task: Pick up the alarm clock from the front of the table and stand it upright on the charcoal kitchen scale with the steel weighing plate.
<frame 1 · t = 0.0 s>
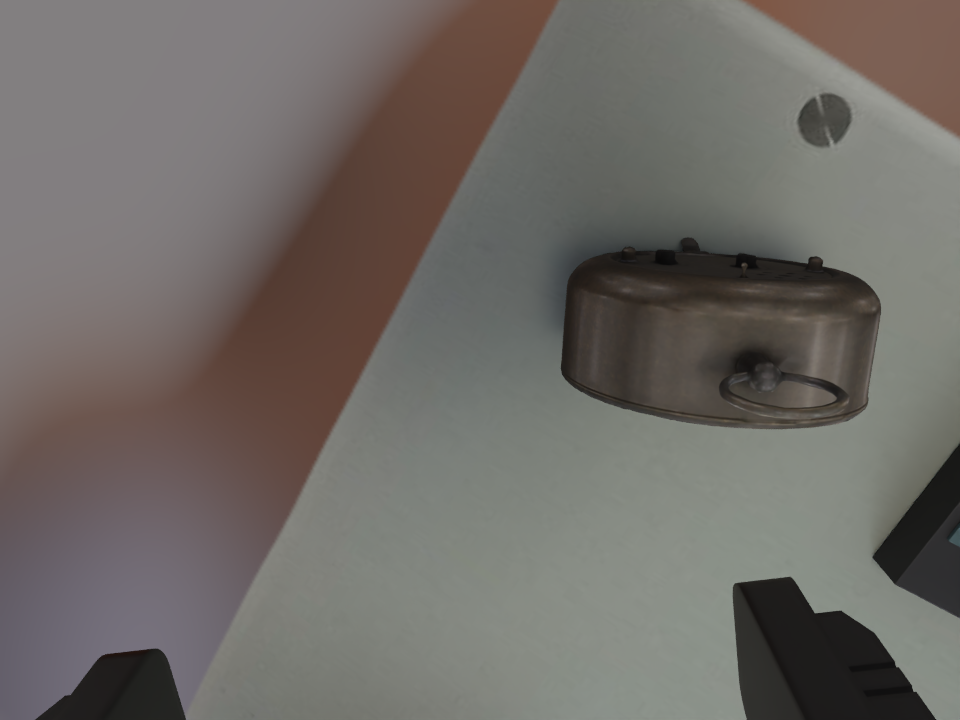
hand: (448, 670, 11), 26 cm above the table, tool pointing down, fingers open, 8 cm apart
alarm clock: (678, 286, 36), on the table
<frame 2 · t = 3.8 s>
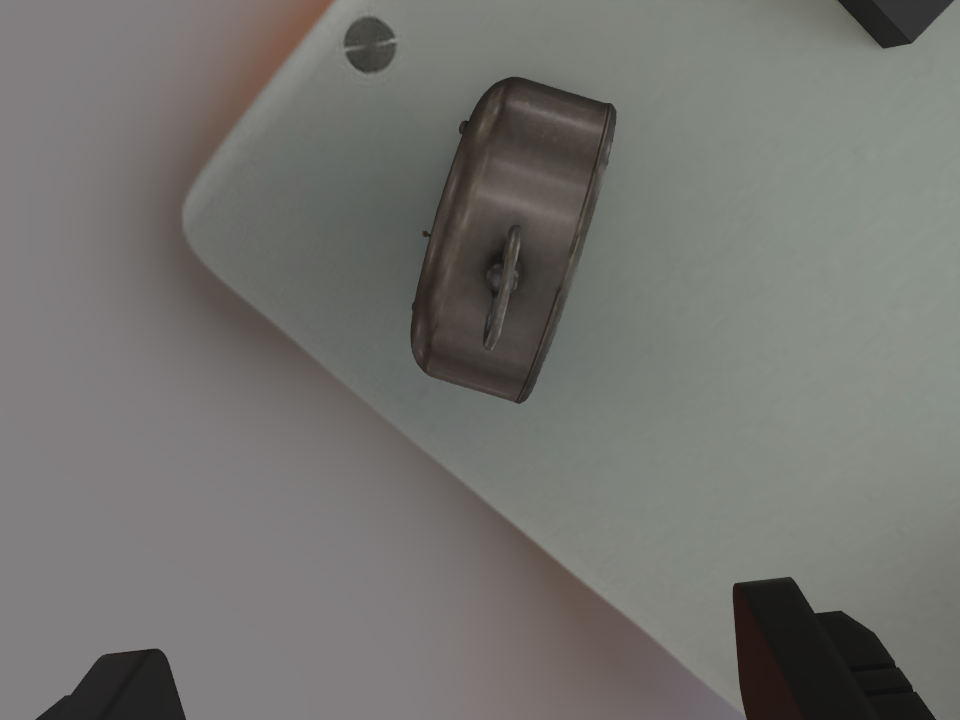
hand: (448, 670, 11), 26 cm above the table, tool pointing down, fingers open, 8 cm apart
alarm clock: (504, 217, 36), on the table
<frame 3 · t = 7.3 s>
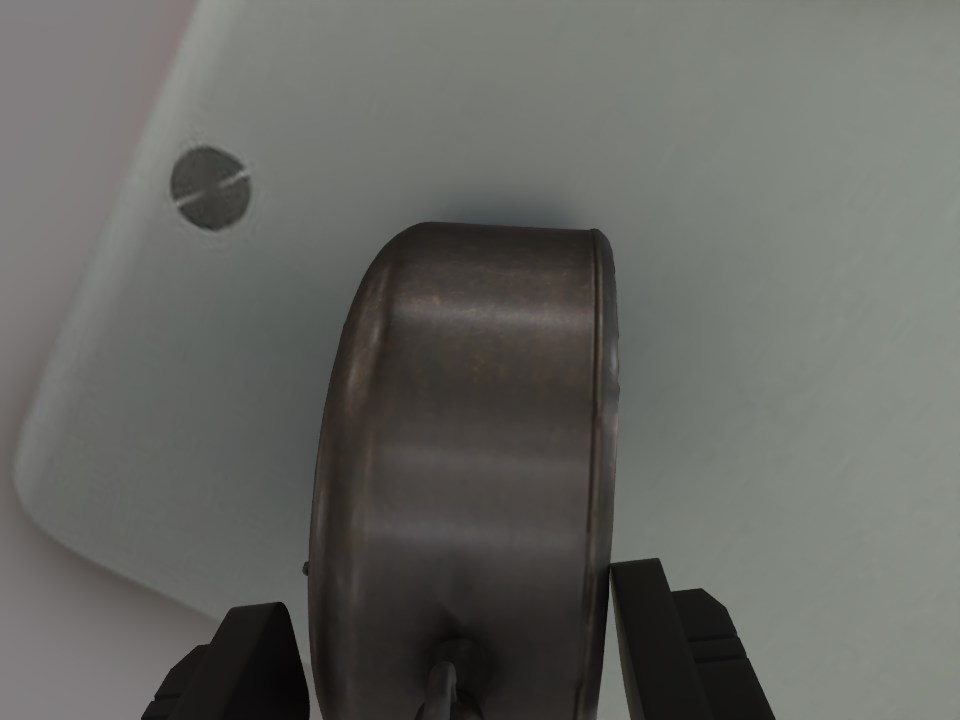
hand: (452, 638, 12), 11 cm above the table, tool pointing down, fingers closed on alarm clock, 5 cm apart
alarm clock: (478, 388, 23), on the table, touching gripper
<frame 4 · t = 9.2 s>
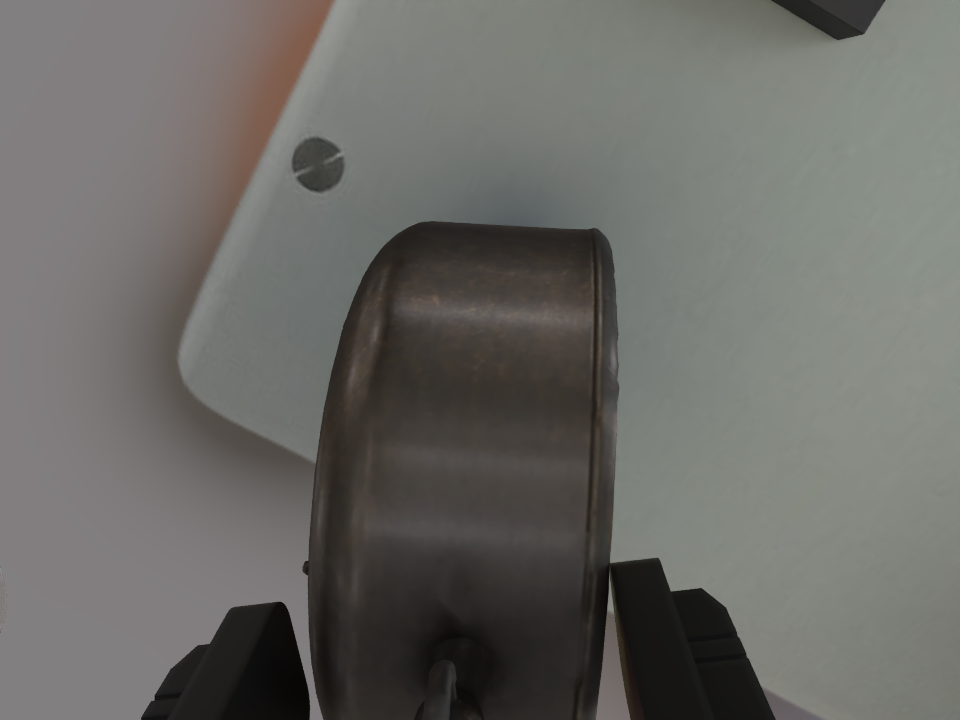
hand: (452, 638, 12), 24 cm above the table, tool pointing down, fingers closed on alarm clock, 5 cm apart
alarm clock: (478, 388, 23), point 12 cm above the table, touching gripper
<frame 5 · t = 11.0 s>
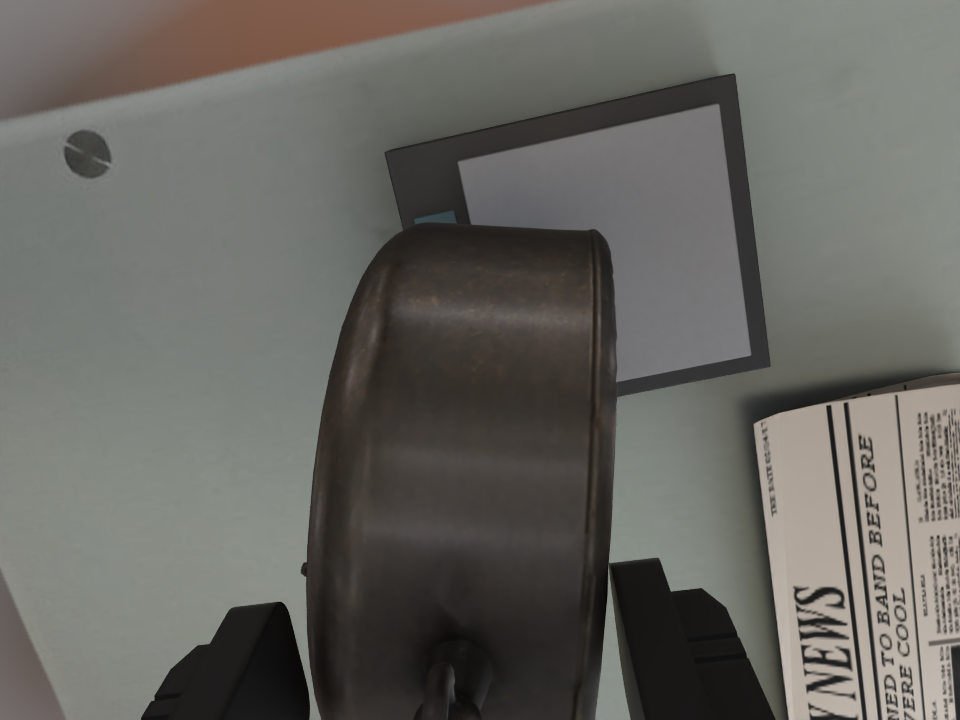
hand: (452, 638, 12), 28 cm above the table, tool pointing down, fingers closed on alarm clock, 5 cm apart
alarm clock: (477, 389, 23), point 16 cm above the table, touching gripper
newspaper: (874, 668, 45), on the table
scale: (578, 254, 38), on the table
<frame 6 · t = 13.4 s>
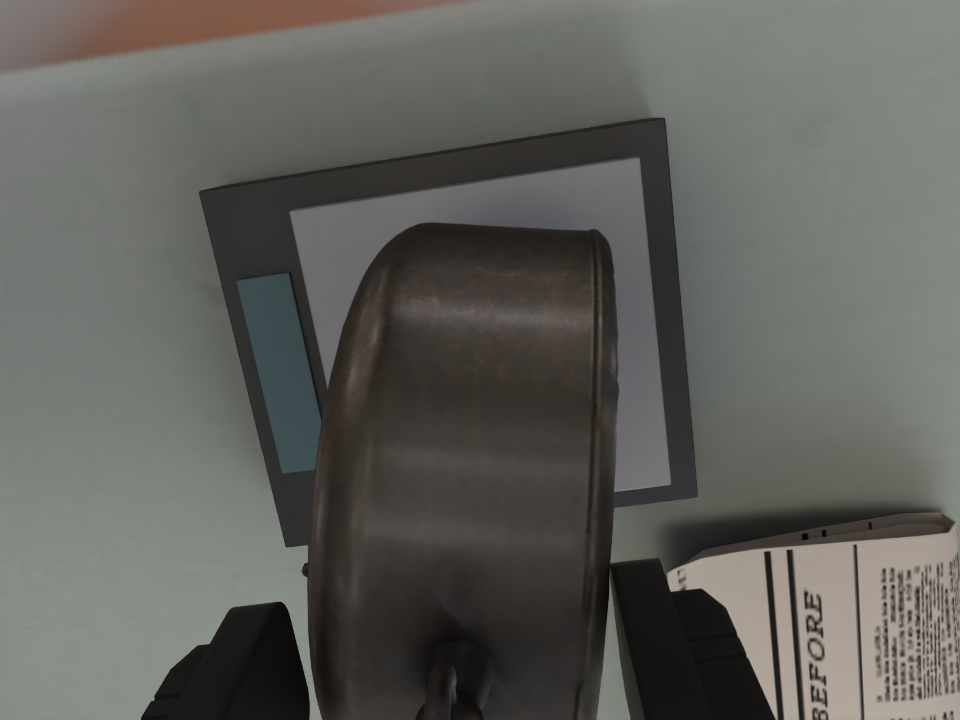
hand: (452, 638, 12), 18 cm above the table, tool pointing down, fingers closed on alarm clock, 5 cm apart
alarm clock: (478, 389, 23), point 7 cm above the table, touching gripper
scale: (463, 333, 30), on the table
when the fingers open (15 cm above the table, at t = 14.9 s): alarm clock stays where it is, resting on scale.
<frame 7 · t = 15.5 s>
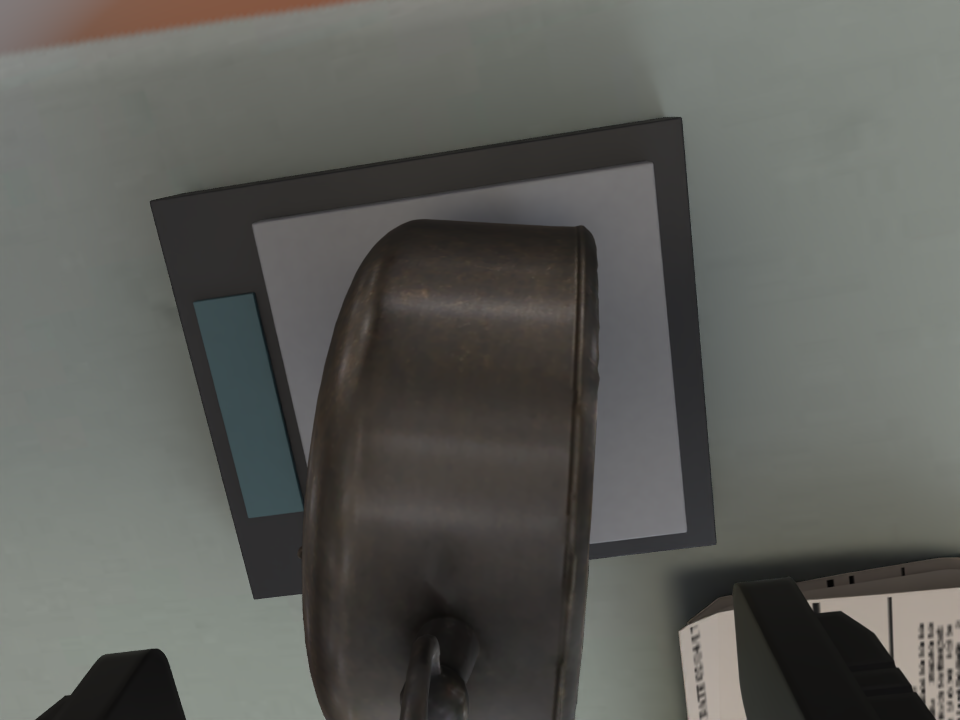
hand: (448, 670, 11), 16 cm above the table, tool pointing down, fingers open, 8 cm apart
alarm clock: (473, 383, 24), point 3 cm above the table, touching scale
scale: (452, 359, 27), on the table
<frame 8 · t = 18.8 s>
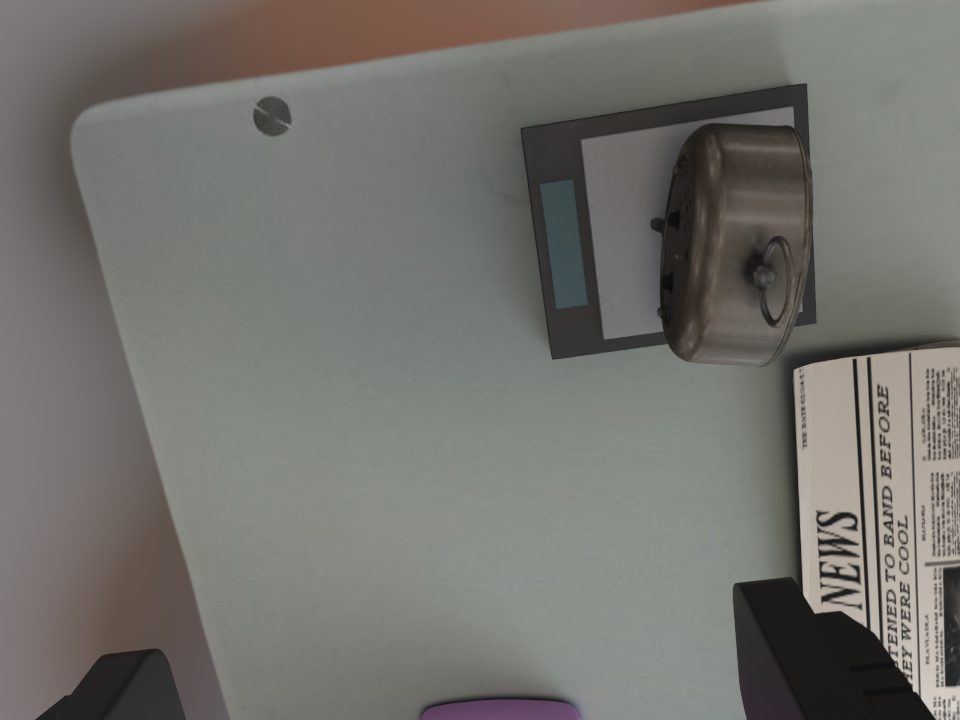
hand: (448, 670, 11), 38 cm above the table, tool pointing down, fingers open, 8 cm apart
alarm clock: (690, 227, 44), point 3 cm above the table, touching scale
newspaper: (877, 589, 54), on the table
scale: (665, 223, 47), on the table
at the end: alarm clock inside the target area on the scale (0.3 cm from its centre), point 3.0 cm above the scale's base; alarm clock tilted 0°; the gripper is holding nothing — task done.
